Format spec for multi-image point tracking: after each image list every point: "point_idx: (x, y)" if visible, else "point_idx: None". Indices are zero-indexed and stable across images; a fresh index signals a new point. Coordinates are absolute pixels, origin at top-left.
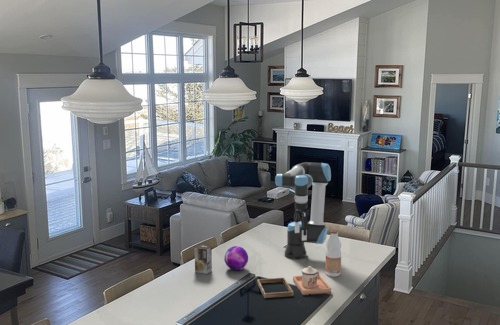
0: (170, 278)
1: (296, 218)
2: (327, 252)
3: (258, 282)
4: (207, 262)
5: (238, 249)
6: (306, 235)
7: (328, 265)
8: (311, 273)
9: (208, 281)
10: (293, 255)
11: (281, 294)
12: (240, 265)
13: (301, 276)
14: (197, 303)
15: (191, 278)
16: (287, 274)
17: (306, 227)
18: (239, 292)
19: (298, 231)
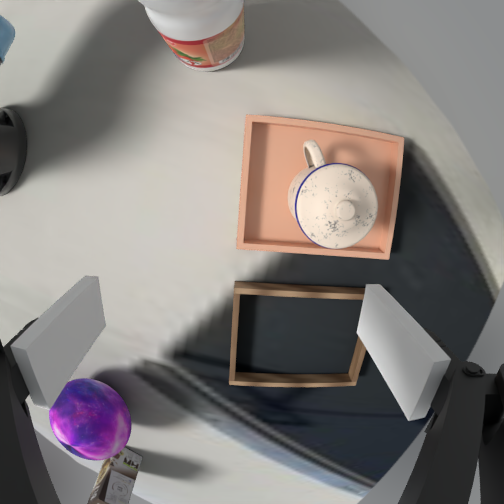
0: (165, 501)
1: (51, 483)
2: (197, 27)
3: (255, 385)
4: (132, 480)
5: (91, 448)
6: (404, 313)
7: (221, 51)
8: (376, 214)
9: (191, 465)
10: (13, 170)
11: None
12: (128, 413)
13: (245, 208)
14: (312, 486)
15: (168, 481)
16: (164, 243)
17: (482, 392)
18: (286, 426)
19: (93, 294)
